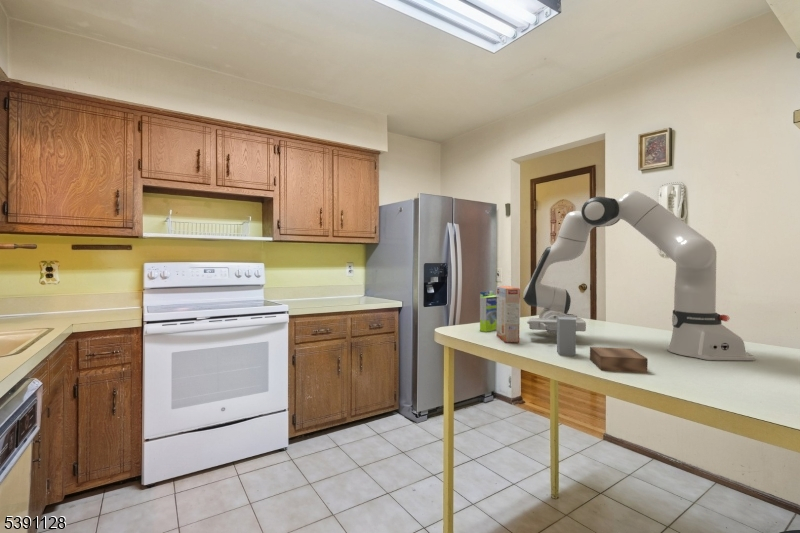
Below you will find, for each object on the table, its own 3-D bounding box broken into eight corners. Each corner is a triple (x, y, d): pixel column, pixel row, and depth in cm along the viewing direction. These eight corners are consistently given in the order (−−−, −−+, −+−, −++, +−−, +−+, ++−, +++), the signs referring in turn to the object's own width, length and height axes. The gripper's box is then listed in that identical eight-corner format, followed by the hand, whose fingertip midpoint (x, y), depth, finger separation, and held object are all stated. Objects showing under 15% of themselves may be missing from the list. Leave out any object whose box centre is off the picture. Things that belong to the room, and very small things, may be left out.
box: (486, 332, 166) (486, 292, 166) (478, 330, 170) (478, 292, 169) (500, 329, 174) (500, 291, 173) (492, 328, 177) (492, 290, 176)
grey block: (572, 352, 131) (572, 317, 130) (575, 356, 126) (575, 319, 126) (556, 351, 132) (557, 316, 132) (559, 355, 127) (559, 319, 127)
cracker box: (520, 343, 145) (520, 288, 145) (504, 343, 145) (504, 288, 145) (510, 335, 159) (510, 285, 159) (496, 335, 159) (496, 285, 159)
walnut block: (631, 361, 119) (631, 348, 119) (647, 372, 107) (647, 358, 107) (589, 359, 122) (590, 346, 122) (600, 370, 110) (600, 356, 110)
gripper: (526, 313, 156) (530, 318, 143) (580, 315, 151) (589, 320, 138) (526, 328, 156) (530, 335, 143) (580, 330, 152) (589, 337, 138)
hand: (559, 328), depth 140 cm, fingers open, 8 cm apart
